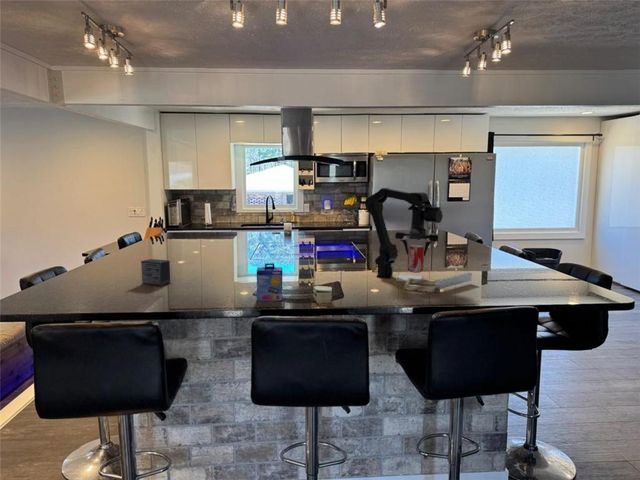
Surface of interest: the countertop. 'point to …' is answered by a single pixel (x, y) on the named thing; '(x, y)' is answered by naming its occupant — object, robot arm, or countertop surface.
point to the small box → (155, 272)
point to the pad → (405, 277)
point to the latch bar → (453, 280)
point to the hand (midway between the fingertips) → (415, 255)
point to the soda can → (415, 258)
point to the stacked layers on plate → (323, 294)
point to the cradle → (420, 288)
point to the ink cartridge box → (269, 283)
